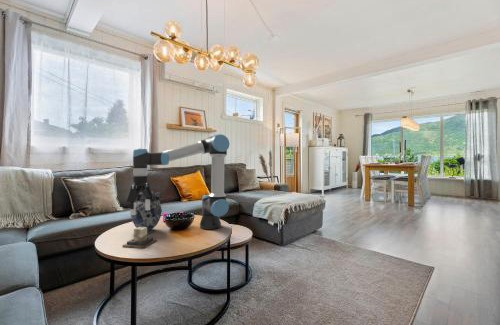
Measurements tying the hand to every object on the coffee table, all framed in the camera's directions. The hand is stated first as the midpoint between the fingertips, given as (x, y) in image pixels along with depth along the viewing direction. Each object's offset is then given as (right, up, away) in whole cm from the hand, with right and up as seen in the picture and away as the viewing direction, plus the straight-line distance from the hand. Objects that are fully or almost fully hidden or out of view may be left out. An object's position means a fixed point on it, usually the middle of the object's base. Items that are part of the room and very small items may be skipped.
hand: (140, 212), depth 138 cm
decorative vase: (-6, -18, +22) cm, 29 cm away
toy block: (+3, -19, +50) cm, 53 cm away
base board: (0, -18, 0) cm, 18 cm away
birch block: (0, -17, 0) cm, 17 cm away
